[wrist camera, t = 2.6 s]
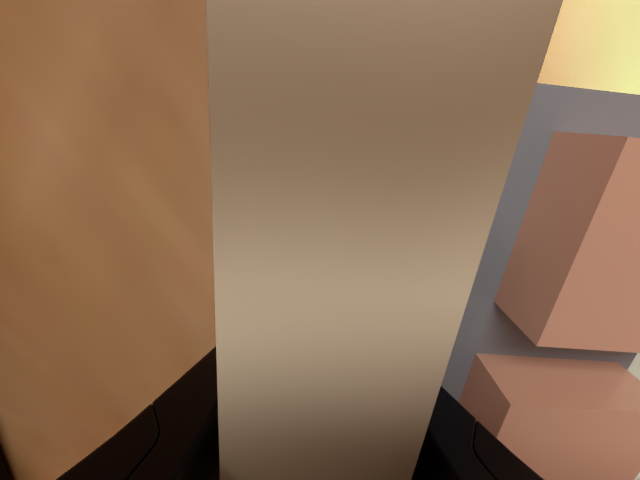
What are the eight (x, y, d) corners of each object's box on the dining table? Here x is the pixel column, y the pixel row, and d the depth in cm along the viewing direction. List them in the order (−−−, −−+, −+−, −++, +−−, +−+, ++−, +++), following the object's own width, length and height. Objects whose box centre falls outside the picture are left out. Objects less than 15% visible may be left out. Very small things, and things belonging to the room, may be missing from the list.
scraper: (334, 467, 12) (348, 678, 8) (258, 464, 12) (225, 678, 8) (404, 68, 7) (565, -10, 3) (274, 52, 7) (204, -60, 2)
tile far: (561, 460, 13) (605, 520, 11) (439, 454, 12) (462, 515, 10) (617, 362, 11) (681, 414, 9) (475, 353, 10) (510, 405, 9)
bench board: (513, 404, 16) (563, 476, 13) (259, 390, 16) (245, 463, 12) (643, 111, 11) (780, 111, 8) (270, 69, 10) (252, 50, 7)
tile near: (645, 312, 10) (721, 358, 8) (494, 301, 10) (536, 346, 8) (737, 150, 8) (861, 161, 6) (553, 131, 8) (627, 136, 6)
